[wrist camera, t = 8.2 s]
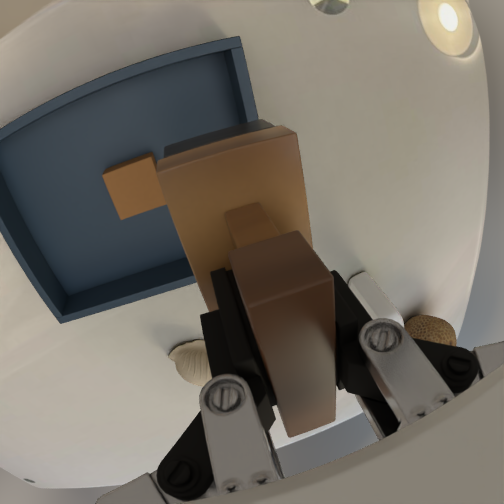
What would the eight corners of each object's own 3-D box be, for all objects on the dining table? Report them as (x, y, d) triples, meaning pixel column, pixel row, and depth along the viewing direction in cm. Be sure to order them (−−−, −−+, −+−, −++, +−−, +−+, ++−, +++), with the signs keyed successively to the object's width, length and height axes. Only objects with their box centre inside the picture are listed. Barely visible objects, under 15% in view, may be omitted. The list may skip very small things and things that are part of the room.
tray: (-15, 141, 18) (-36, 153, 15) (230, 40, 20) (240, 35, 17) (67, 299, 28) (60, 324, 25) (272, 233, 30) (285, 254, 27)
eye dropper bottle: (336, 307, 38) (384, 383, 28) (351, 270, 35) (409, 345, 25) (365, 305, 39) (413, 374, 29) (380, 269, 36) (439, 338, 27)
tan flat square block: (104, 168, 22) (101, 175, 21) (152, 151, 23) (151, 156, 21) (122, 212, 25) (120, 220, 23) (167, 196, 25) (168, 204, 24)
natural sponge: (436, 315, 46) (470, 355, 38) (397, 349, 48) (426, 392, 40) (425, 290, 41) (465, 336, 33) (379, 329, 43) (414, 380, 35)
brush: (158, 148, 11) (147, 264, 5) (267, 117, 12) (393, 189, 5) (223, 325, 17) (261, 460, 11) (299, 300, 18) (364, 422, 11)
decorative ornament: (179, 333, 34) (183, 371, 30) (243, 348, 38) (254, 383, 33) (166, 355, 36) (170, 392, 31) (228, 367, 39) (237, 402, 35)
